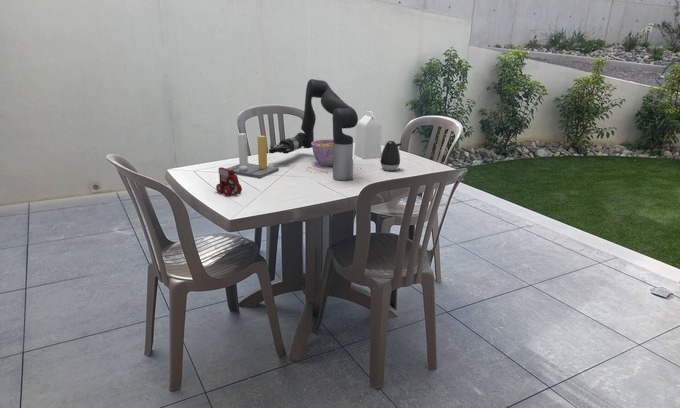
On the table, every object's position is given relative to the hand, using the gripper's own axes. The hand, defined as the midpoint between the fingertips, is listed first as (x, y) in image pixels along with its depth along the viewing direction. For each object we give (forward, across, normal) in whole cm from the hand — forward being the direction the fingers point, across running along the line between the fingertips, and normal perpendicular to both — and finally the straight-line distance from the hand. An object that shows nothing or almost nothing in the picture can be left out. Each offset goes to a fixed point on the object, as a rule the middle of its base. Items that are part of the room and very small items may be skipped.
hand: (270, 151), depth 222 cm
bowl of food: (-23, +22, +9) cm, 33 cm away
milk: (-51, +32, +9) cm, 61 cm away
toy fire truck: (+42, +8, +9) cm, 44 cm away
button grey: (+15, -6, +8) cm, 18 cm away
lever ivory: (+7, -12, +7) cm, 16 cm away
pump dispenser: (-29, +54, +9) cm, 62 cm away
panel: (+10, -5, +9) cm, 14 cm away
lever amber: (+7, 0, +7) cm, 10 cm away
